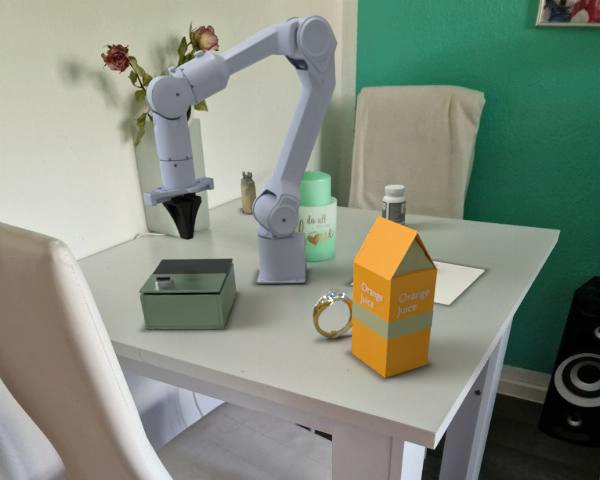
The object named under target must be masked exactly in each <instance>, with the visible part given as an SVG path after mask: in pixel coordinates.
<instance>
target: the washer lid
mask: <svg viewBox="0 0 600 480" xmlns="http://www.w3.org/2000/svg"><path fill="white" fill-rule="evenodd" d="M233 262H234V259H233V258H176V259H175V258H174V259H173V258H172V259H169V258H167V259H166V258H165V259H161V260H160V262H159V263H158V265H157V267H156V268H155V270H154V271H153V272H152V274H221V273H226V276H227V274H228V271H229V269H230V266H231V264H232V263H233Z"/></svg>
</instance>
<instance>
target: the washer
mask: <svg viewBox="0 0 600 480" xmlns="http://www.w3.org/2000/svg"><path fill="white" fill-rule="evenodd" d="M159 276H172V277H173V279H174V285H173V286H172V287H169V288H156V287H155V285H154V279H155V278H156V277H159ZM236 287H237V286H236V275H235V265H234V262H232V264H231V266H230V269H229V271H228V274H227V276H226V273H221V274H153V273H152V274H150V275H149V277H148V278H147V279H146V281H145V282H144V283H143V285H142V286H141V288H140V289H139V290H138V292H139V294H140V295H139V299H140V305H141V309H142V315H143V320H144V325H145V329H146V330H149V331H150V330H224V329H225V327H226V324H227V321H228V319H229V316H230V313H231V311H232V310H231V309H232V307H233V305H234V302H235V299H236V296H237V288H236ZM196 292H212V294H181V293H196Z"/></svg>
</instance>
